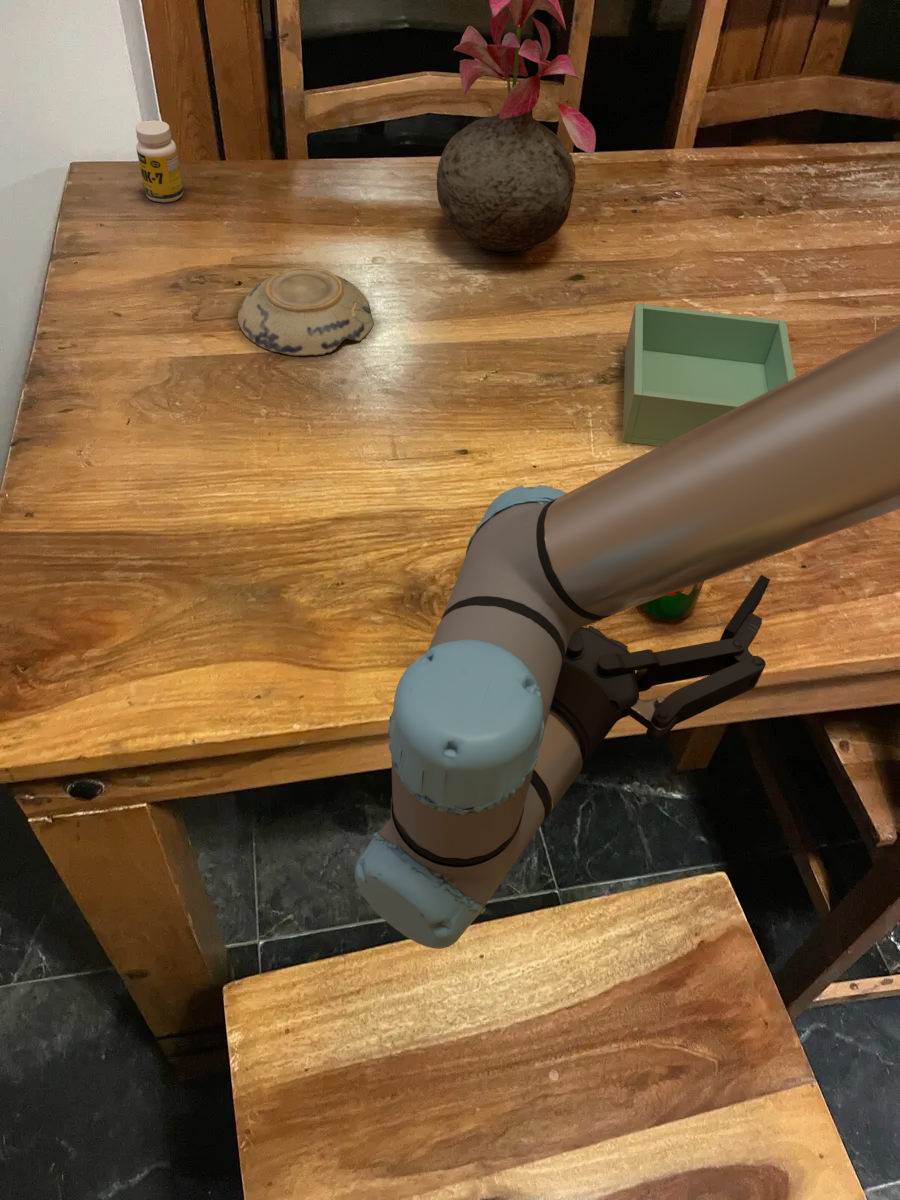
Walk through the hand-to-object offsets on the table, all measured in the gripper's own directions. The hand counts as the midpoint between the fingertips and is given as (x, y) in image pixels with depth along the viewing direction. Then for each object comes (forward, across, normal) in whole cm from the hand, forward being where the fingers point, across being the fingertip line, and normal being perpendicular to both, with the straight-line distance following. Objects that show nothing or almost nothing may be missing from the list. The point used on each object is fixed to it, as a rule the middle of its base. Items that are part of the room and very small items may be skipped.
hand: (680, 548), depth 74 cm
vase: (+41, -43, -7) cm, 60 cm away
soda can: (0, 0, -7) cm, 7 cm away
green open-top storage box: (+27, -9, -6) cm, 29 cm away
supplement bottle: (+22, -83, -7) cm, 86 cm away
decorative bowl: (+13, -51, -7) cm, 53 cm away
